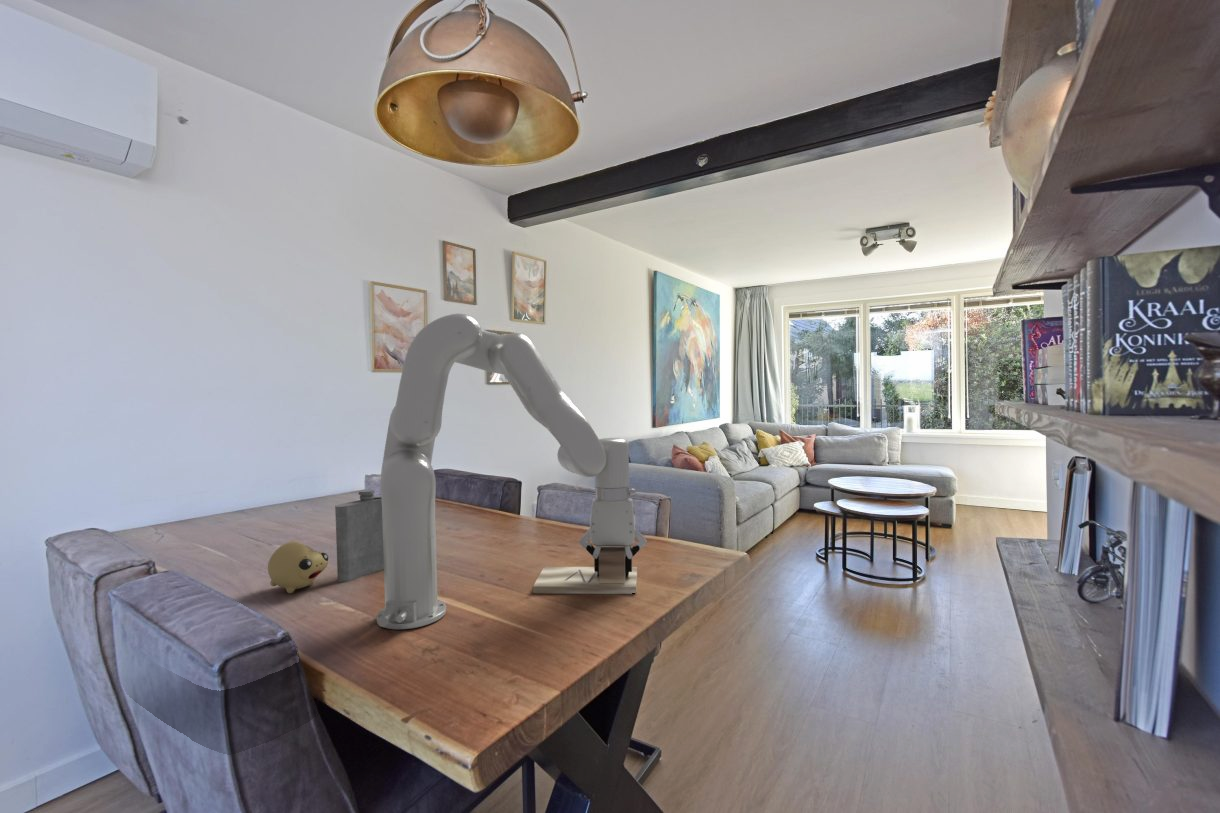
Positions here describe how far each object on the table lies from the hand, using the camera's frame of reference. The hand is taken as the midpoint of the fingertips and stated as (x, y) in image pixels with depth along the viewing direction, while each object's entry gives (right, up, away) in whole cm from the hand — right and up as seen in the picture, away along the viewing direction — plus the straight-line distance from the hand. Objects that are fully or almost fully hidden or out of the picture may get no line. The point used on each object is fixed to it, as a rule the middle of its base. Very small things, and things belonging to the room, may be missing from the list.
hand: (613, 574), depth 122 cm
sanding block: (0, 0, 0) cm, 0 cm away
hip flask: (-59, -3, +11) cm, 60 cm away
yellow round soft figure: (-70, -4, 0) cm, 70 cm away
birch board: (-6, -2, +1) cm, 6 cm away
